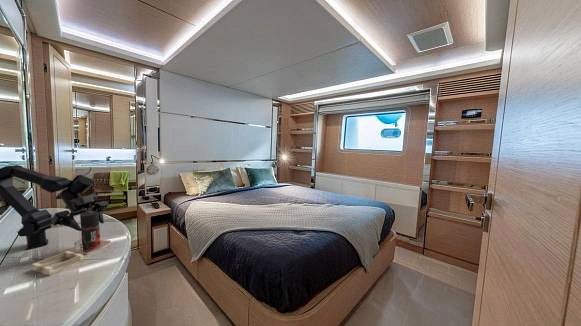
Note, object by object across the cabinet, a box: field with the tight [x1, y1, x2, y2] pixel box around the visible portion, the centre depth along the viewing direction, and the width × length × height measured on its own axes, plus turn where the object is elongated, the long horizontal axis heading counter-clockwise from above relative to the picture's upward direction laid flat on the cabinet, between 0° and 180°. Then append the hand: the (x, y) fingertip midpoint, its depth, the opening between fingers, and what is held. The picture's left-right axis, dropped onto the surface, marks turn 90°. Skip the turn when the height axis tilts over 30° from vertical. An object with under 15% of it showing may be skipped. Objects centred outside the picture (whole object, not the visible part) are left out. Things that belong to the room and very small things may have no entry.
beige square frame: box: [31, 250, 85, 277], centre depth 82 cm, size 10×10×2 cm
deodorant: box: [79, 211, 101, 249], centre depth 94 cm, size 6×6×15 cm
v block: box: [63, 238, 111, 255], centre depth 95 cm, size 10×11×3 cm
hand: (92, 226), depth 94 cm, fingers open, 8 cm apart
